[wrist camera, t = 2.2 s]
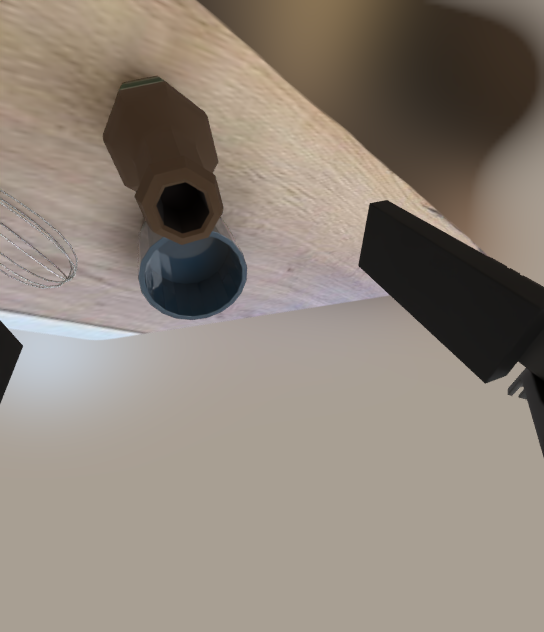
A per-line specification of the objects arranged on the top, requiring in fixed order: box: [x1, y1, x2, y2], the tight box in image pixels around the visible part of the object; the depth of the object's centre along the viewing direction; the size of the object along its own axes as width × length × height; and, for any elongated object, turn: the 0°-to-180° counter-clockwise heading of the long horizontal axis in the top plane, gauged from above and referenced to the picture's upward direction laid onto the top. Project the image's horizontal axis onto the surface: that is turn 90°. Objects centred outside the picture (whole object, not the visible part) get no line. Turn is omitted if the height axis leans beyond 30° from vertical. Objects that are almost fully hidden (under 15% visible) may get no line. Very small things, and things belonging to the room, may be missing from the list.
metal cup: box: [138, 217, 247, 320], centre depth 36 cm, size 12×12×8 cm
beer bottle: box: [103, 76, 223, 245], centre depth 21 cm, size 8×8×24 cm
